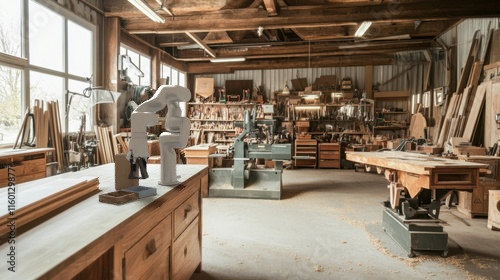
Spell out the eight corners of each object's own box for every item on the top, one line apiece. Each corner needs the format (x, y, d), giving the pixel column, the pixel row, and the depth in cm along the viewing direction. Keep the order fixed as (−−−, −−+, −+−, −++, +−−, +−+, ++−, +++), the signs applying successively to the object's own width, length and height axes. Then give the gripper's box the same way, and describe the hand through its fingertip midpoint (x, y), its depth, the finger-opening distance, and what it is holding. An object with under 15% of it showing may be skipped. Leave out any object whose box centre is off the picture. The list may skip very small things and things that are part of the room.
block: (139, 187, 182) (139, 153, 181) (131, 191, 172) (131, 154, 171) (123, 186, 183) (122, 152, 182) (114, 190, 173) (113, 154, 172)
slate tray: (139, 191, 173) (139, 185, 173) (156, 193, 167) (156, 187, 167) (120, 195, 162) (120, 189, 162) (138, 198, 156) (138, 192, 156)
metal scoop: (119, 192, 170) (119, 188, 170) (125, 193, 168) (125, 189, 168) (100, 197, 159) (100, 193, 159) (106, 198, 157) (106, 194, 157)
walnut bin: (119, 195, 161) (119, 190, 161) (138, 198, 156) (137, 192, 156) (98, 201, 150) (98, 194, 150) (117, 204, 145) (117, 197, 144)
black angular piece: (149, 177, 167) (149, 154, 166) (145, 179, 161) (145, 155, 160) (131, 177, 167) (132, 154, 166) (127, 179, 161) (127, 155, 160)
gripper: (145, 135, 172) (145, 168, 173) (119, 136, 157) (119, 172, 158) (156, 135, 169) (156, 169, 170) (131, 136, 153) (131, 173, 154)
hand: (138, 170), depth 164 cm, fingers closed on black angular piece, 6 cm apart
